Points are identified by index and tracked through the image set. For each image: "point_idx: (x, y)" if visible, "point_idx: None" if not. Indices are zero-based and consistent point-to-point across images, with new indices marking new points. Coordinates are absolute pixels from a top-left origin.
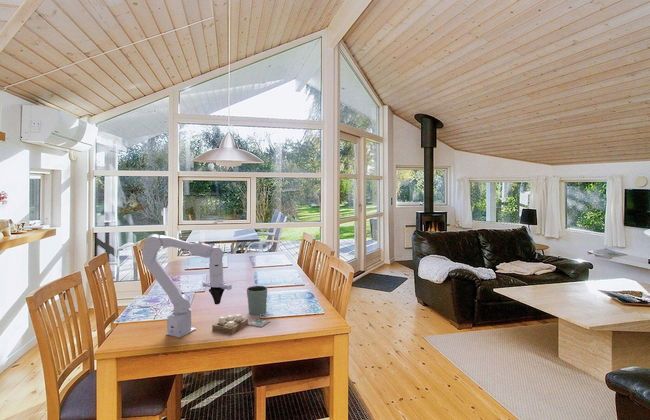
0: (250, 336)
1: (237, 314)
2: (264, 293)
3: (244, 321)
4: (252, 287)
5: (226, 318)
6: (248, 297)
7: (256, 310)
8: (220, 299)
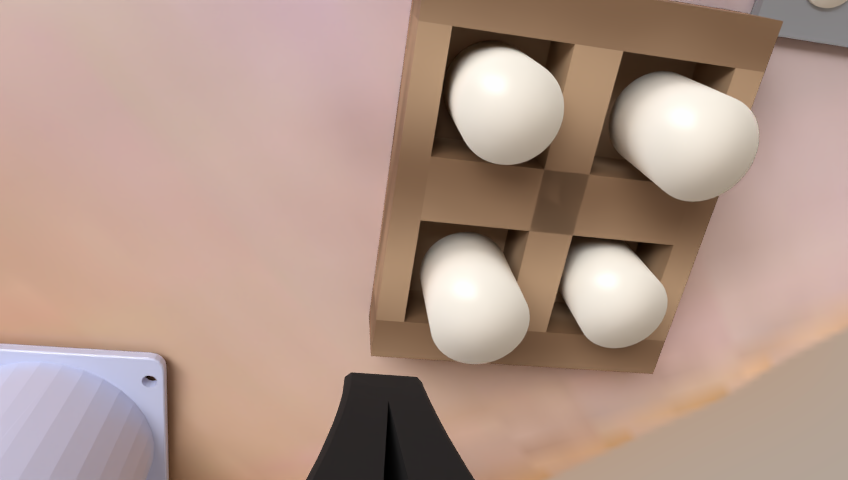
0: (838, 314)
1: (676, 134)
2: None
3: None
4: None
5: (433, 95)
6: None
7: None
8: (441, 445)
